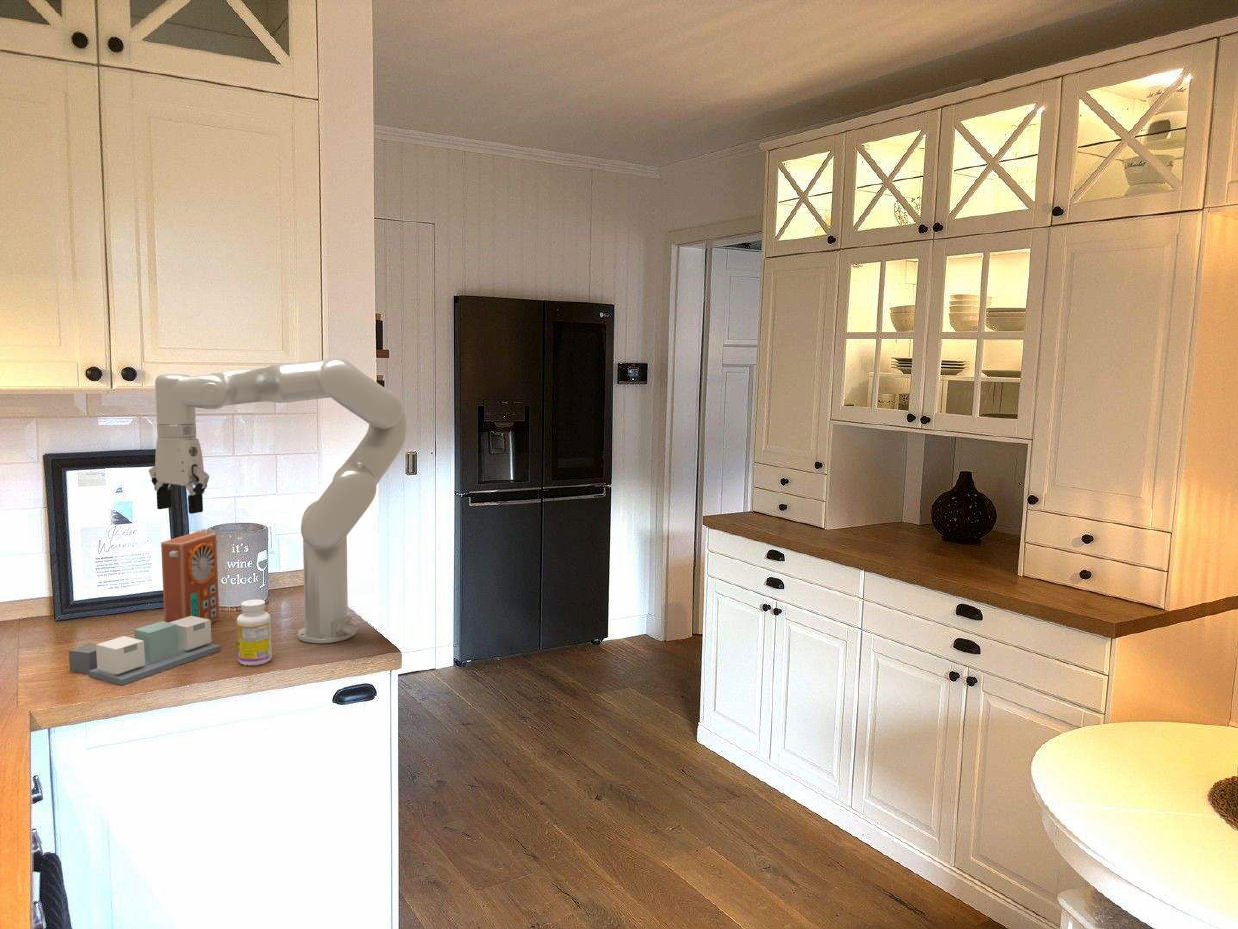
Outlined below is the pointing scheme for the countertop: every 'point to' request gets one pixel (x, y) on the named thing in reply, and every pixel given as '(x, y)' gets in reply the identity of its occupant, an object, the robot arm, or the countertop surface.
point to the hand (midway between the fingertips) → (180, 510)
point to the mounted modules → (131, 651)
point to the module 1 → (83, 658)
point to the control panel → (190, 577)
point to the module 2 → (158, 639)
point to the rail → (153, 660)
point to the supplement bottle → (254, 633)
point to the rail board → (155, 666)
